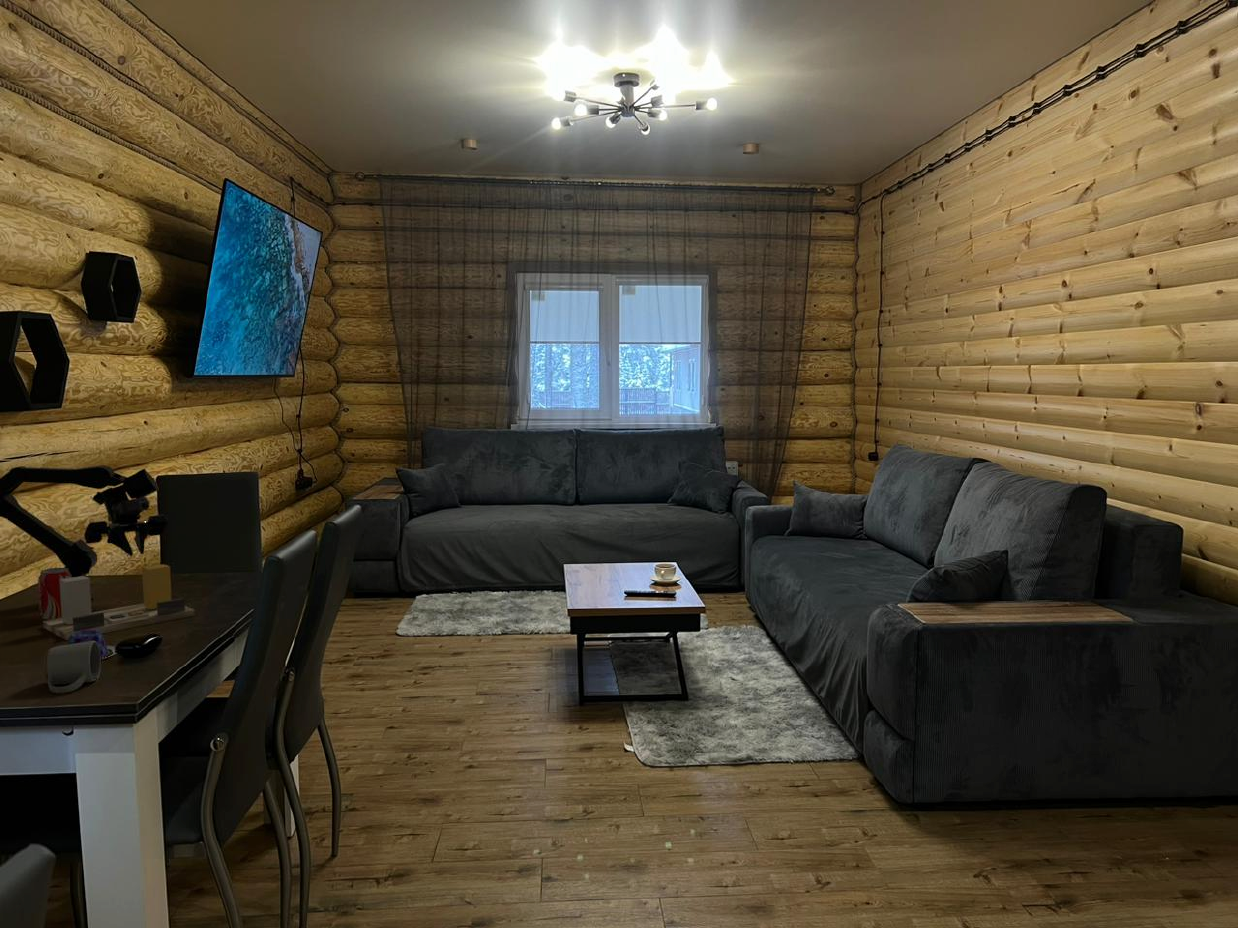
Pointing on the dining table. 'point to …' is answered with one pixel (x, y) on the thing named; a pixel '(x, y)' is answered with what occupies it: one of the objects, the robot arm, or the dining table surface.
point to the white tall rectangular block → (75, 598)
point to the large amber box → (156, 585)
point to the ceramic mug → (72, 665)
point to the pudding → (92, 636)
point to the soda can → (51, 592)
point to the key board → (120, 618)
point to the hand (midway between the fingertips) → (137, 553)
